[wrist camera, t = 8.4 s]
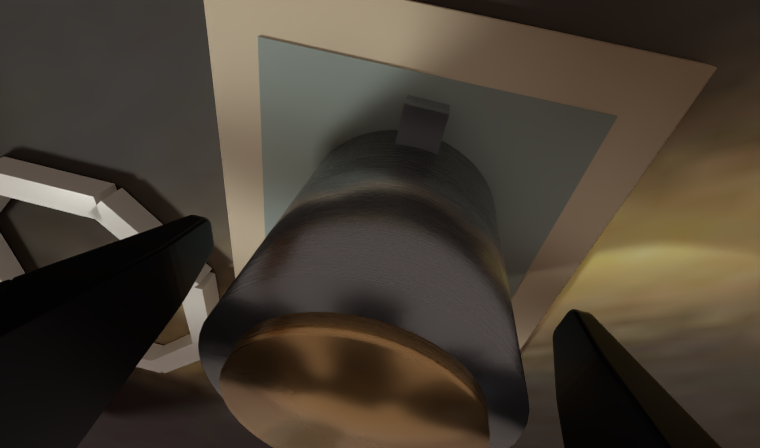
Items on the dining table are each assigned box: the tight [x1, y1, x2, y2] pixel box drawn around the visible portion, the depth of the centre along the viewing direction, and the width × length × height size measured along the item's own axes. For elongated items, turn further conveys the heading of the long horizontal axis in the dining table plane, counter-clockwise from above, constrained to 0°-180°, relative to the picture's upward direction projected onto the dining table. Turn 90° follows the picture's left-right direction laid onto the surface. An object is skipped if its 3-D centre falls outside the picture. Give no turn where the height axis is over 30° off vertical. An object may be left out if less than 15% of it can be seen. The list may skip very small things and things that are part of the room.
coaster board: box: [204, 0, 718, 349], centre depth 11 cm, size 11×11×1 cm
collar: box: [0, 157, 219, 373], centre depth 15 cm, size 11×11×1 cm
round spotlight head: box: [198, 95, 529, 448], centre depth 8 cm, size 6×7×6 cm
